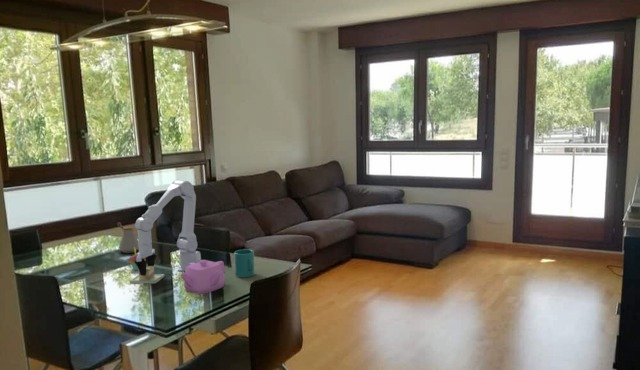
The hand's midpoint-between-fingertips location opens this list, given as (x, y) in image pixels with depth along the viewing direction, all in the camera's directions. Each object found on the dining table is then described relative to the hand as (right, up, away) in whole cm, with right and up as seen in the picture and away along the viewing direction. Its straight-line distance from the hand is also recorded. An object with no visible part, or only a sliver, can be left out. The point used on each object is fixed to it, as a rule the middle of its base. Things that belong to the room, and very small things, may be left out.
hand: (147, 272), depth 217 cm
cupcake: (-11, -2, +19) cm, 22 cm away
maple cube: (0, -3, 0) cm, 3 cm away
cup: (+46, -2, +3) cm, 46 cm away
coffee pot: (-33, +2, +57) cm, 65 cm away
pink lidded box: (+30, -5, -13) cm, 33 cm away
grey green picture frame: (0, -3, 0) cm, 3 cm away
